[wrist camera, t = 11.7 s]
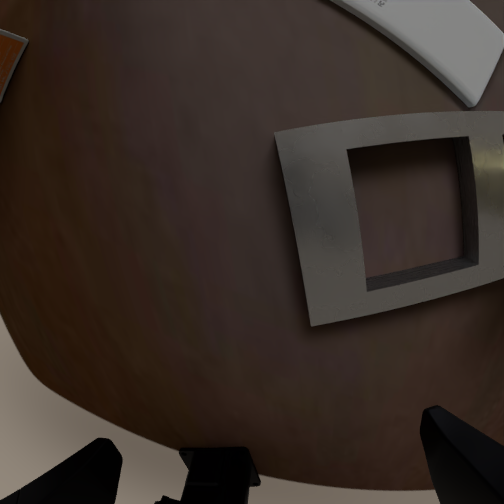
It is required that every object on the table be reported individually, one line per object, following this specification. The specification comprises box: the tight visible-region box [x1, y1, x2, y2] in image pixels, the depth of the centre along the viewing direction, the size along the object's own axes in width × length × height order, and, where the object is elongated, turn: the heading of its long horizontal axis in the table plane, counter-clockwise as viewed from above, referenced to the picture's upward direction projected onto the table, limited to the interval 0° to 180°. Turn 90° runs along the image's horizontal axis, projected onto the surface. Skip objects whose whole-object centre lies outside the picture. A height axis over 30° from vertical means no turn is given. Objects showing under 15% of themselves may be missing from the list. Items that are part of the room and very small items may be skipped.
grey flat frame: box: [274, 111, 504, 326], centre depth 16 cm, size 11×26×2 cm, turn 102°
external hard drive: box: [330, 0, 504, 108], centre depth 14 cm, size 2×8×12 cm
